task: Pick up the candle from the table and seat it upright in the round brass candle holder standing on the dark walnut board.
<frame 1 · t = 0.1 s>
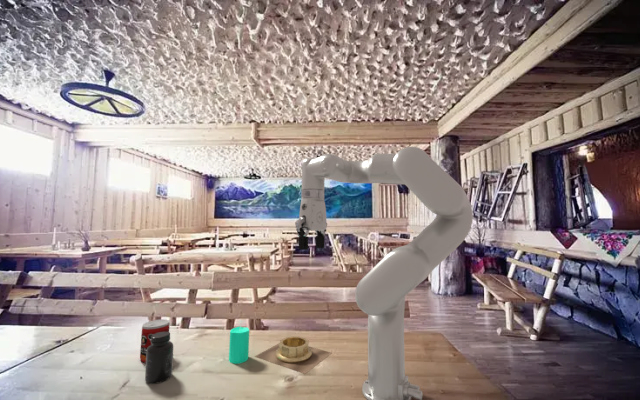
hand: (312, 248, 89), 37 cm above the table, tool pointing down, fingers open, 9 cm apart
candle holder: (293, 354, 91), resting on walnut board
walnut board: (293, 359, 91), on the table
supplement bottle: (158, 378, 79), on the table
candle: (238, 364, 87), on the table
canned food: (153, 358, 91), on the table
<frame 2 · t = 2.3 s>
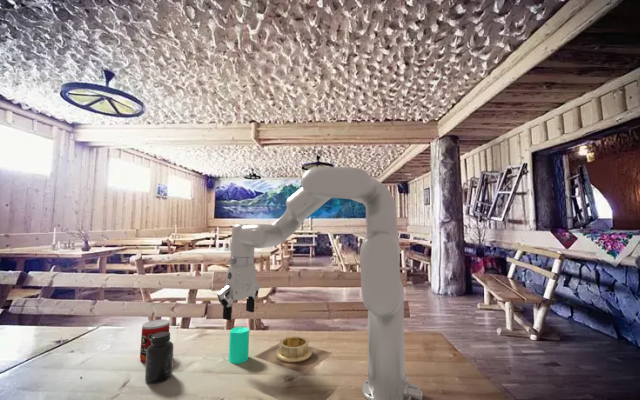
hand: (238, 315, 89), 15 cm above the table, tool pointing down, fingers open, 9 cm apart
nothing on the table moved.
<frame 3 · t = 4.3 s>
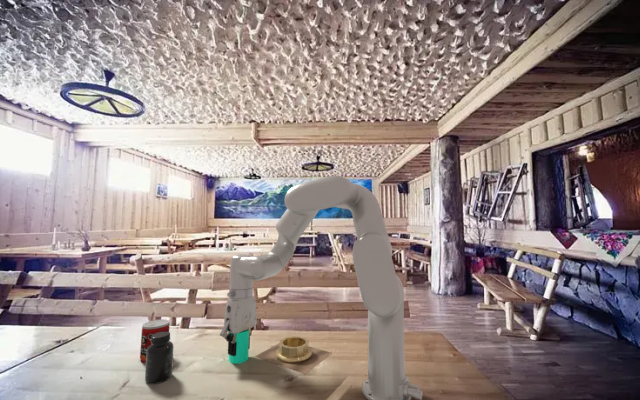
hand: (238, 351, 88), 4 cm above the table, tool pointing down, fingers closed on candle, 4 cm apart
candle: (238, 364, 87), on the table, touching gripper
everything else where it was.
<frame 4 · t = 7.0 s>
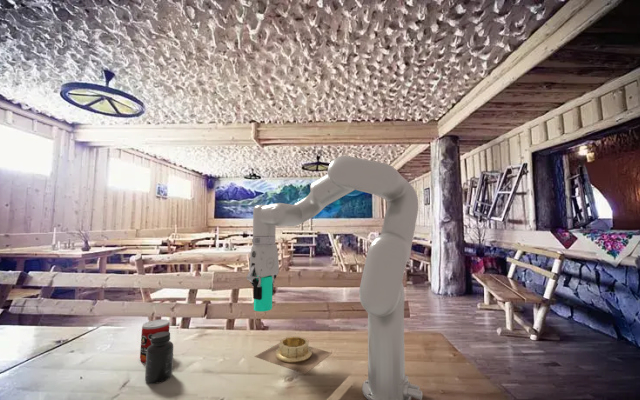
hand: (263, 296, 91), 21 cm above the table, tool pointing down, fingers closed on candle, 4 cm apart
candle: (263, 309, 90), point 17 cm above the table, touching gripper
everything else where it was.
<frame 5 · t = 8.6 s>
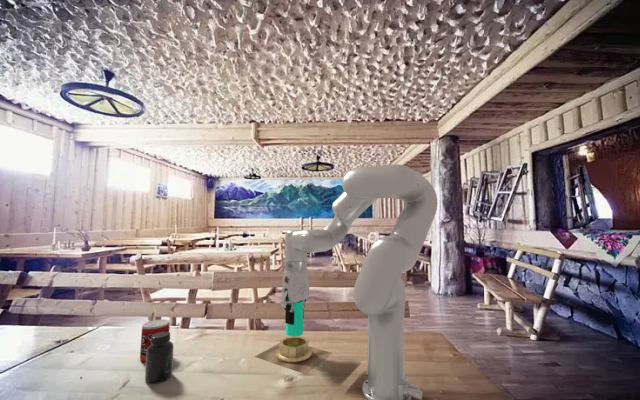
hand: (294, 320, 92), 12 cm above the table, tool pointing down, fingers closed on candle, 4 cm apart
candle: (294, 333, 92), point 8 cm above the table, touching gripper
everything else where it was.
when the fingers open (8 cm above the table, at t = 9.9 s): candle drops 1 cm, resting on candle holder.
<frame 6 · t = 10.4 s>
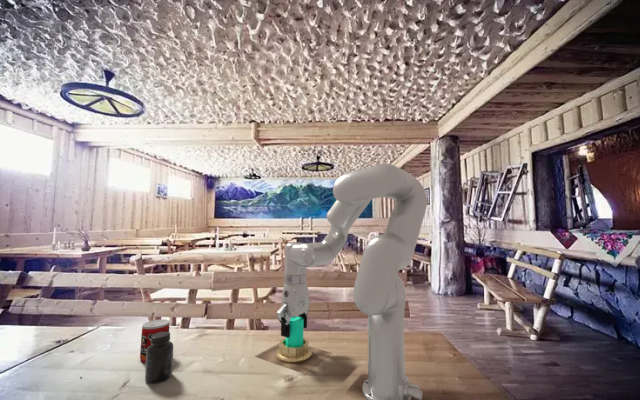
hand: (294, 331, 92), 9 cm above the table, tool pointing down, fingers open, 9 cm apart
candle: (294, 352, 91), point 2 cm above the table, touching candle holder
everything else where it was.
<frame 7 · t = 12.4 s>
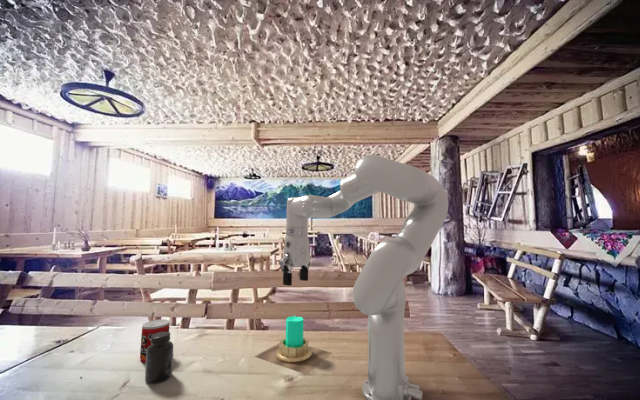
hand: (295, 282, 94), 25 cm above the table, tool pointing down, fingers open, 9 cm apart
nothing on the table moved.
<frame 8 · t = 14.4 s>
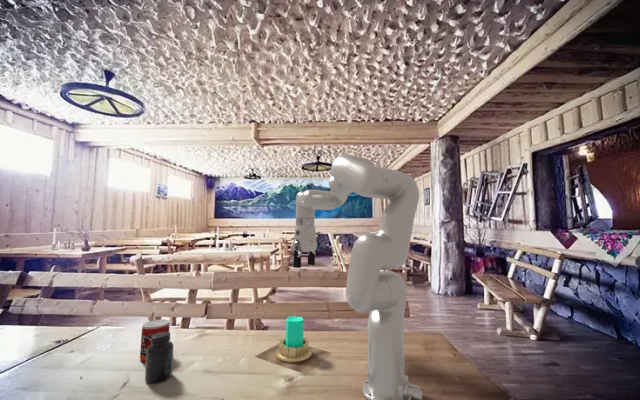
hand: (304, 266, 109), 28 cm above the table, tool pointing down, fingers open, 9 cm apart
nothing on the table moved.
at the end: candle 0.1 cm off-centre on the candle holder, point 0.8 cm above the candle holder's base; candle tilted 0°; the gripper is holding nothing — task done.
